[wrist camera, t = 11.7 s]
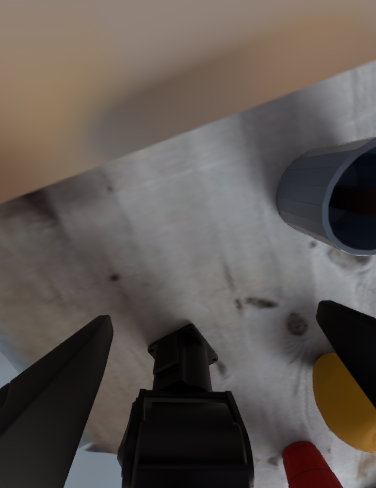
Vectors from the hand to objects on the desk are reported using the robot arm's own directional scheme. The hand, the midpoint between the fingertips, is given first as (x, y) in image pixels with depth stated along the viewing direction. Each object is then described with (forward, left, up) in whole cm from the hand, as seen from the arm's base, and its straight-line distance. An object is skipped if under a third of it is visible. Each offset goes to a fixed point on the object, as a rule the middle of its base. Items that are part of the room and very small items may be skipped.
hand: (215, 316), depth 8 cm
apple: (-24, -6, -12) cm, 28 cm away
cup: (-3, -12, -12) cm, 17 cm away
